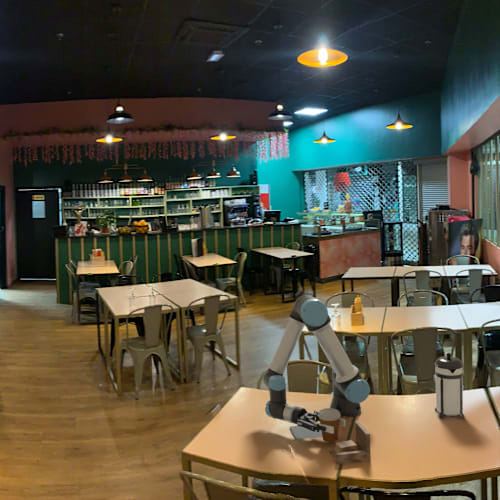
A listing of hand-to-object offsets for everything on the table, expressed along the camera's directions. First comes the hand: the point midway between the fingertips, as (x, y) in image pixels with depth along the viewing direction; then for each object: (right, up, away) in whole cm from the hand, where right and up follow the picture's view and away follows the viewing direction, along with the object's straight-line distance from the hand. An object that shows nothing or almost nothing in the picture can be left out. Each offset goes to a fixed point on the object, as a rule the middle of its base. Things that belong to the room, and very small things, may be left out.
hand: (339, 426), depth 231 cm
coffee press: (+57, -4, +33) cm, 66 cm away
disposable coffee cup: (-3, -7, +4) cm, 8 cm away
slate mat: (-11, -9, +18) cm, 23 cm away
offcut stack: (+2, -9, -8) cm, 13 cm away
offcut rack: (+3, -10, -8) cm, 13 cm away
